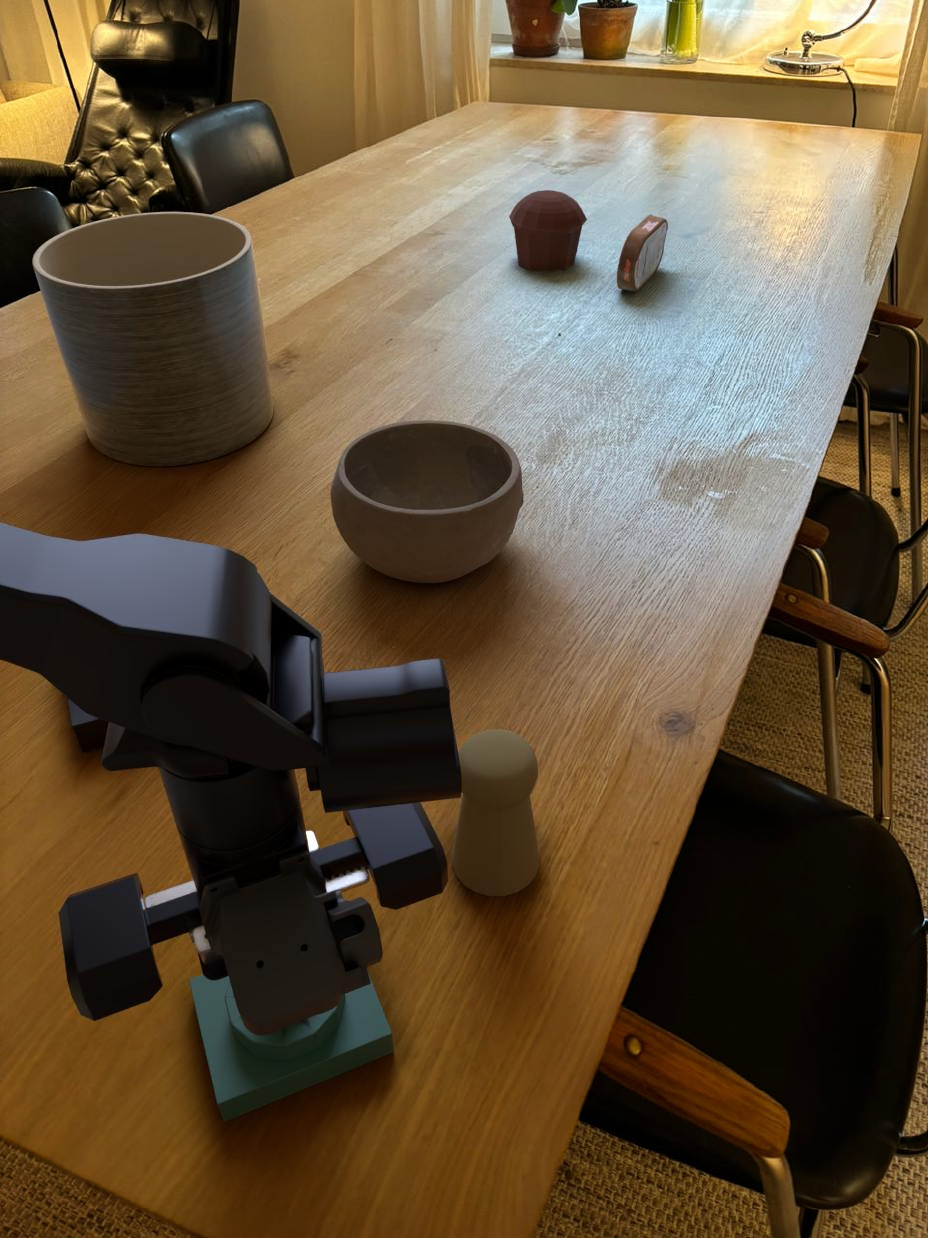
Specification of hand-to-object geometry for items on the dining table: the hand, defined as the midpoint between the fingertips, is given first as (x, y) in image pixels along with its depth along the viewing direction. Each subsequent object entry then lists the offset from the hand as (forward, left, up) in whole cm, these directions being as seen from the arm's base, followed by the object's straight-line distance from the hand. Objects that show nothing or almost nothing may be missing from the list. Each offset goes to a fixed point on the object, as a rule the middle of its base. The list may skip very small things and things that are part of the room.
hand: (280, 980), depth 56 cm
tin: (+78, +91, -5) cm, 120 cm away
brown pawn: (+16, +6, -5) cm, 18 cm away
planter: (+8, +77, -5) cm, 78 cm away
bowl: (+25, +41, -5) cm, 48 cm away
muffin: (+69, +104, -5) cm, 125 cm away
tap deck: (-2, +33, -5) cm, 33 cm away
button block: (0, 0, -5) cm, 5 cm away
